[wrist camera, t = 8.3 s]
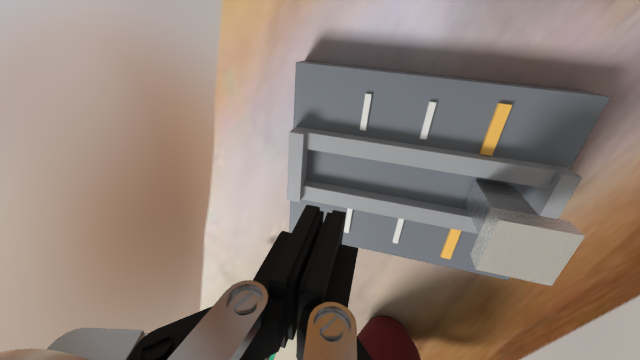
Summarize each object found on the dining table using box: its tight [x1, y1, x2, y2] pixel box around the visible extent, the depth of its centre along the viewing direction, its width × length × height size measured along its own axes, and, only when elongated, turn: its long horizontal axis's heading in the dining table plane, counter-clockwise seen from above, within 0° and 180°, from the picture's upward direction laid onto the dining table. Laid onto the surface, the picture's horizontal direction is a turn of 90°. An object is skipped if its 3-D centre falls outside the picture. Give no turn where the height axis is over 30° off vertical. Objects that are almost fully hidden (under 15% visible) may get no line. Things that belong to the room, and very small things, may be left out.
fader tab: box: [465, 180, 585, 286], centre depth 16 cm, size 3×4×6 cm
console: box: [287, 61, 610, 280], centre depth 20 cm, size 14×18×4 cm
